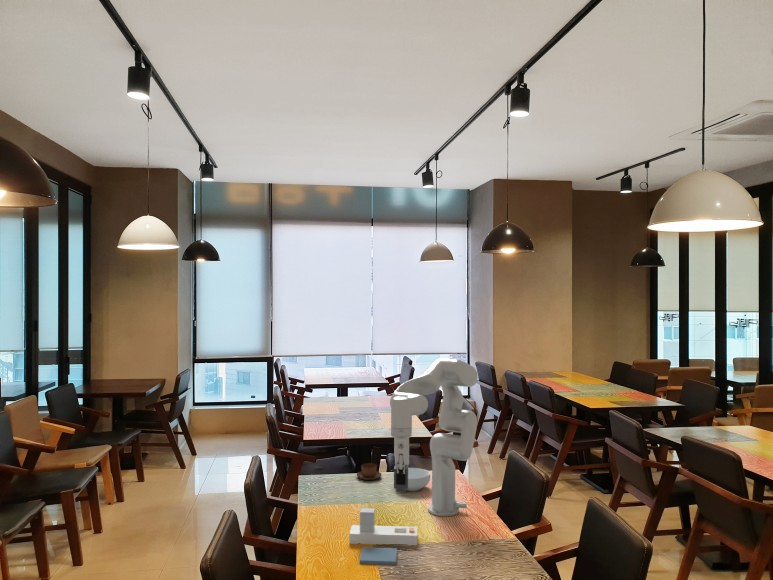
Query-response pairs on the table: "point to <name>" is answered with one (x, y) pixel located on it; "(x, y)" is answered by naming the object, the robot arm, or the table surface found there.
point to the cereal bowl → (417, 478)
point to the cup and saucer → (369, 472)
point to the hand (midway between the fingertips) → (401, 481)
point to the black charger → (403, 487)
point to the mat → (378, 555)
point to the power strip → (384, 535)
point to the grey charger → (367, 519)
